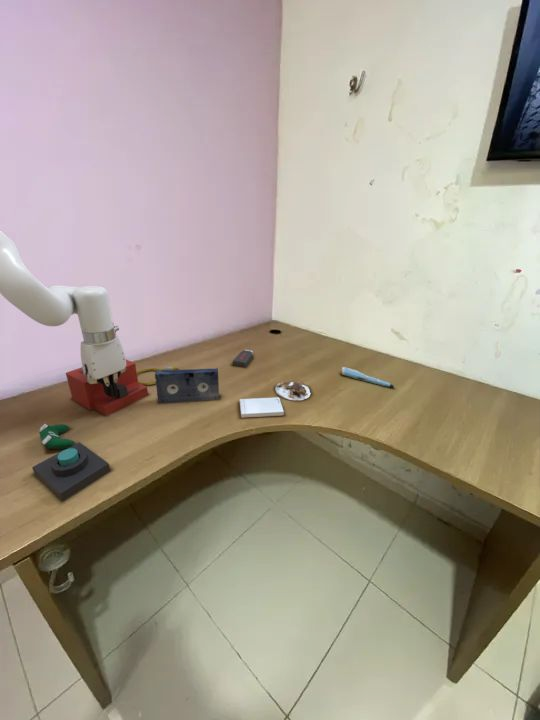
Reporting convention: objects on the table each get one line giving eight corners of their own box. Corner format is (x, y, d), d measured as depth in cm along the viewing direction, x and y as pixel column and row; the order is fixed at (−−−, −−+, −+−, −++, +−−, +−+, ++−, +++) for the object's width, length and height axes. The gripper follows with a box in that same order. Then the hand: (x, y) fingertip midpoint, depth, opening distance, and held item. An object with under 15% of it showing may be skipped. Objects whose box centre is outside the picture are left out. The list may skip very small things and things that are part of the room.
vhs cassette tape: (219, 395, 99) (218, 367, 95) (219, 400, 97) (218, 372, 92) (159, 398, 96) (155, 369, 92) (157, 403, 94) (154, 374, 90)
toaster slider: (115, 395, 91) (113, 386, 90) (123, 392, 93) (121, 383, 92) (120, 398, 90) (118, 389, 89) (128, 394, 92) (126, 386, 90)
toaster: (72, 399, 94) (65, 372, 90) (120, 379, 106) (116, 354, 102) (102, 417, 86) (96, 389, 82) (151, 393, 98) (147, 368, 95)
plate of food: (318, 396, 101) (320, 386, 100) (287, 404, 96) (287, 393, 94) (300, 380, 110) (301, 371, 109) (270, 387, 105) (270, 377, 104)
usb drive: (232, 365, 119) (232, 359, 118) (242, 353, 130) (242, 347, 128) (245, 367, 118) (245, 361, 117) (254, 355, 128) (254, 349, 127)
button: (56, 461, 66) (54, 455, 65) (73, 452, 69) (71, 446, 68) (64, 469, 64) (62, 462, 63) (82, 459, 67) (80, 452, 66)
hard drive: (279, 396, 97) (239, 398, 95) (284, 411, 90) (241, 413, 88) (278, 401, 98) (239, 402, 96) (283, 416, 90) (241, 418, 89)
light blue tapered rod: (339, 375, 115) (340, 368, 114) (342, 372, 118) (343, 365, 117) (393, 390, 107) (395, 383, 106) (395, 386, 109) (396, 379, 108)
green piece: (59, 436, 81) (35, 430, 77) (69, 424, 81) (45, 417, 77) (66, 456, 75) (40, 450, 70) (76, 443, 75) (51, 436, 71)
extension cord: (174, 386, 103) (173, 381, 102) (125, 386, 102) (124, 381, 101) (181, 369, 114) (180, 364, 113) (137, 369, 113) (136, 364, 112)
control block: (34, 474, 67) (29, 460, 65) (81, 449, 75) (77, 435, 73) (62, 501, 61) (57, 486, 60) (110, 470, 69) (107, 457, 67)
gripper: (117, 324, 88) (127, 381, 96) (61, 339, 77) (78, 402, 85) (133, 330, 84) (142, 388, 92) (77, 347, 73) (93, 411, 81)
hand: (111, 395), depth 88 cm, fingers closed
